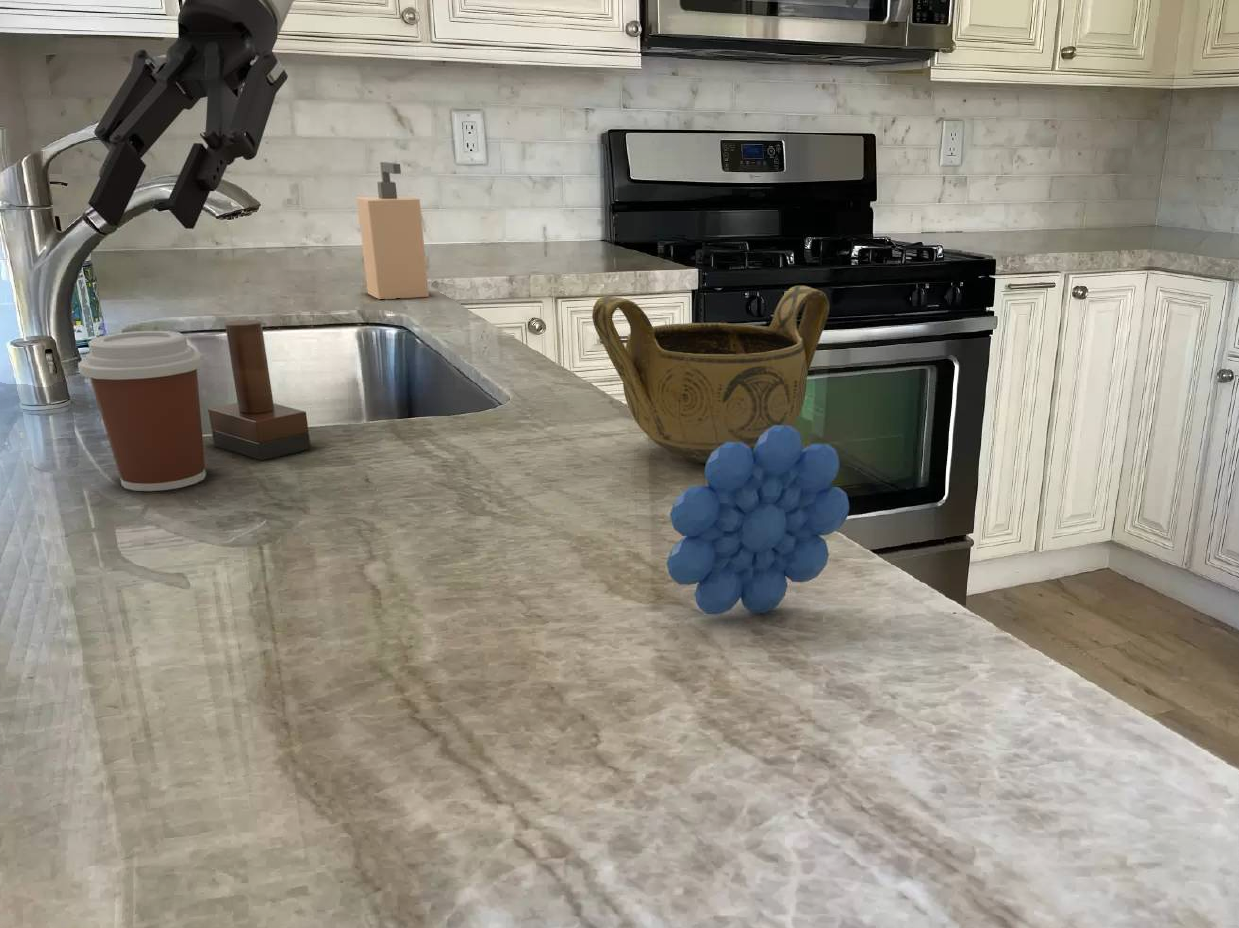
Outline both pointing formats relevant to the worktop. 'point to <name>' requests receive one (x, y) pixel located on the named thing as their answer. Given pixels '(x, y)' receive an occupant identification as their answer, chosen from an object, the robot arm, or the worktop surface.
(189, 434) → the coffee cup
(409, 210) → the soap dispenser
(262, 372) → the rubber stamp
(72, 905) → the worktop surface
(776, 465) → the blue flower shape
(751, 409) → the ceramic bowl
